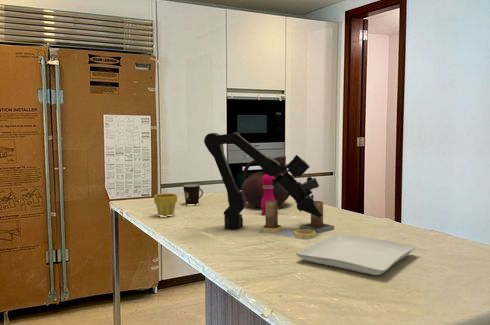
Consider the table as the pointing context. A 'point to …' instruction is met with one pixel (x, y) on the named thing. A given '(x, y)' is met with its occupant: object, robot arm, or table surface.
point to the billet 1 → (271, 214)
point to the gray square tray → (308, 226)
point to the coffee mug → (192, 193)
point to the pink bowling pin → (267, 191)
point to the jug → (261, 185)
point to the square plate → (356, 253)
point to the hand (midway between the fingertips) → (320, 214)
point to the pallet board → (290, 232)
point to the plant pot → (165, 203)
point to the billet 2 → (315, 220)
